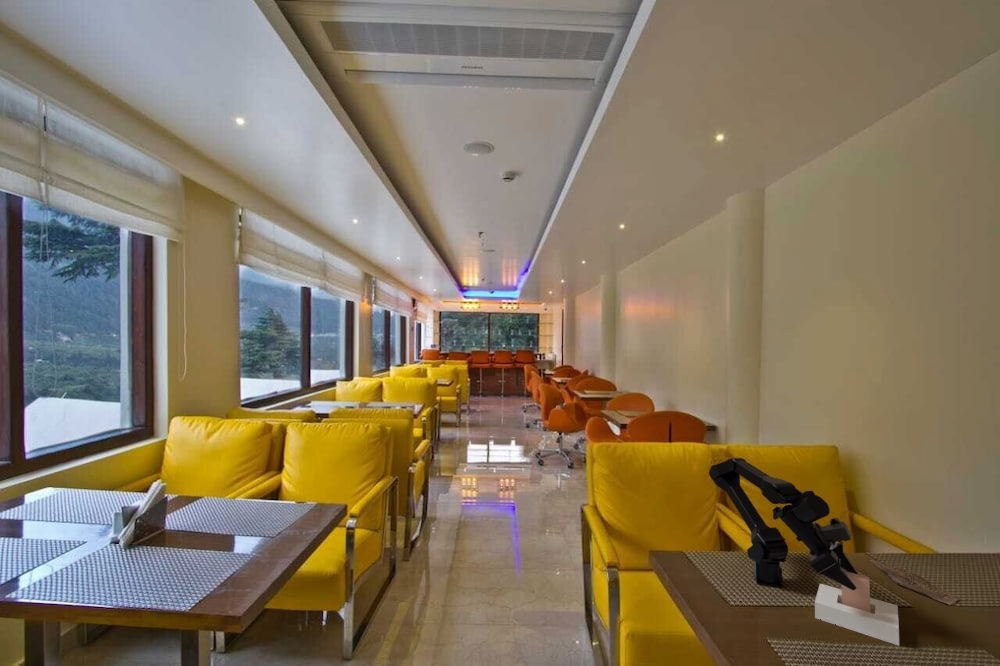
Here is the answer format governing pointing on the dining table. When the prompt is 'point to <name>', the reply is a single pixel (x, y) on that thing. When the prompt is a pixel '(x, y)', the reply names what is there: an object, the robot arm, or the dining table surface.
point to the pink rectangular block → (857, 592)
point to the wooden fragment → (916, 583)
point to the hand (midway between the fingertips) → (855, 581)
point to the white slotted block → (858, 615)
